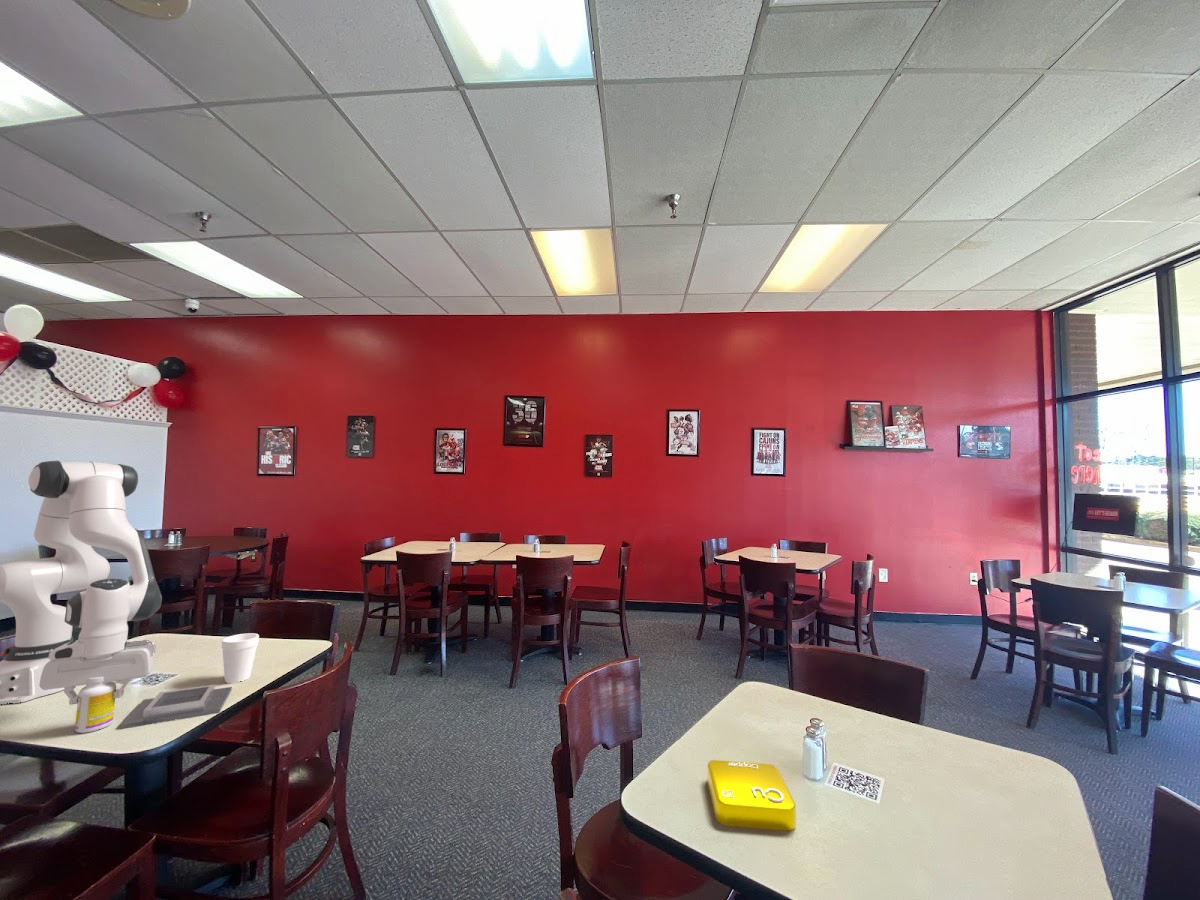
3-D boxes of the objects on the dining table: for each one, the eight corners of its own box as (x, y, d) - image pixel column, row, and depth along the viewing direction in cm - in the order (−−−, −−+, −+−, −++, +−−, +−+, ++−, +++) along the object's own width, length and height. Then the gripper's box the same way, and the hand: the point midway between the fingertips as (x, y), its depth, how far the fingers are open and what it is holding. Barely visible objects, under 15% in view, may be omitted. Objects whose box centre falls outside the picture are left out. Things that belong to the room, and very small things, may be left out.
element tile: (776, 784, 102) (775, 761, 102) (799, 834, 87) (798, 806, 87) (706, 779, 103) (706, 756, 104) (717, 827, 88) (717, 800, 89)
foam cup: (216, 687, 143) (220, 644, 145) (220, 677, 151) (224, 636, 152) (254, 681, 149) (258, 639, 150) (256, 671, 156) (259, 631, 157)
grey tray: (119, 729, 118) (120, 716, 119) (143, 703, 132) (144, 692, 133) (219, 712, 128) (220, 701, 128) (231, 690, 142) (232, 679, 142)
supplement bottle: (120, 721, 122) (125, 670, 124) (93, 734, 116) (99, 680, 117) (93, 720, 122) (99, 670, 123) (65, 734, 116) (72, 680, 117)
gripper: (160, 635, 129) (155, 688, 127) (53, 646, 119) (46, 703, 118) (152, 642, 123) (146, 697, 122) (39, 654, 113) (32, 713, 112)
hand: (96, 700), depth 120 cm, fingers closed on supplement bottle, 7 cm apart
